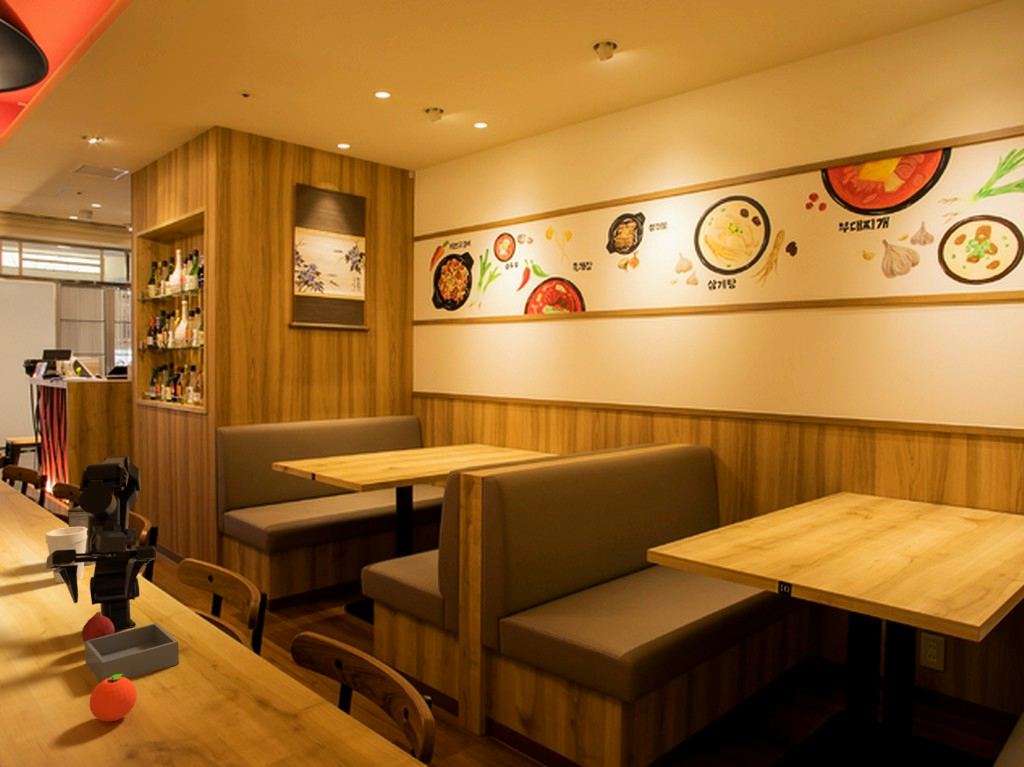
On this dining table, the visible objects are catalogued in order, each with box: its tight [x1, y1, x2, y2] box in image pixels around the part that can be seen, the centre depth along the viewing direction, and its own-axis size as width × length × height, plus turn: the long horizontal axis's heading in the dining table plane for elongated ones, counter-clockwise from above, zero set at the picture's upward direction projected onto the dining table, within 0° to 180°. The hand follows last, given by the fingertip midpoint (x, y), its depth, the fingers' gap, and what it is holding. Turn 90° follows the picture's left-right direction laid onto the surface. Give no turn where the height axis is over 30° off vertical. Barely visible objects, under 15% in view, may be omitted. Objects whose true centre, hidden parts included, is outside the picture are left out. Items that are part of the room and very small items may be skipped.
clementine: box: [89, 674, 137, 723], centre depth 120 cm, size 8×7×7 cm
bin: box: [84, 622, 180, 684], centre depth 140 cm, size 13×13×4 cm
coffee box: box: [67, 505, 95, 566], centre depth 208 cm, size 9×6×16 cm
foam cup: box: [45, 526, 87, 584], centre depth 191 cm, size 10×9×13 cm
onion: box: [80, 610, 115, 644], centre depth 147 cm, size 6×6×8 cm
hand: (102, 600), depth 143 cm, fingers open, 9 cm apart
